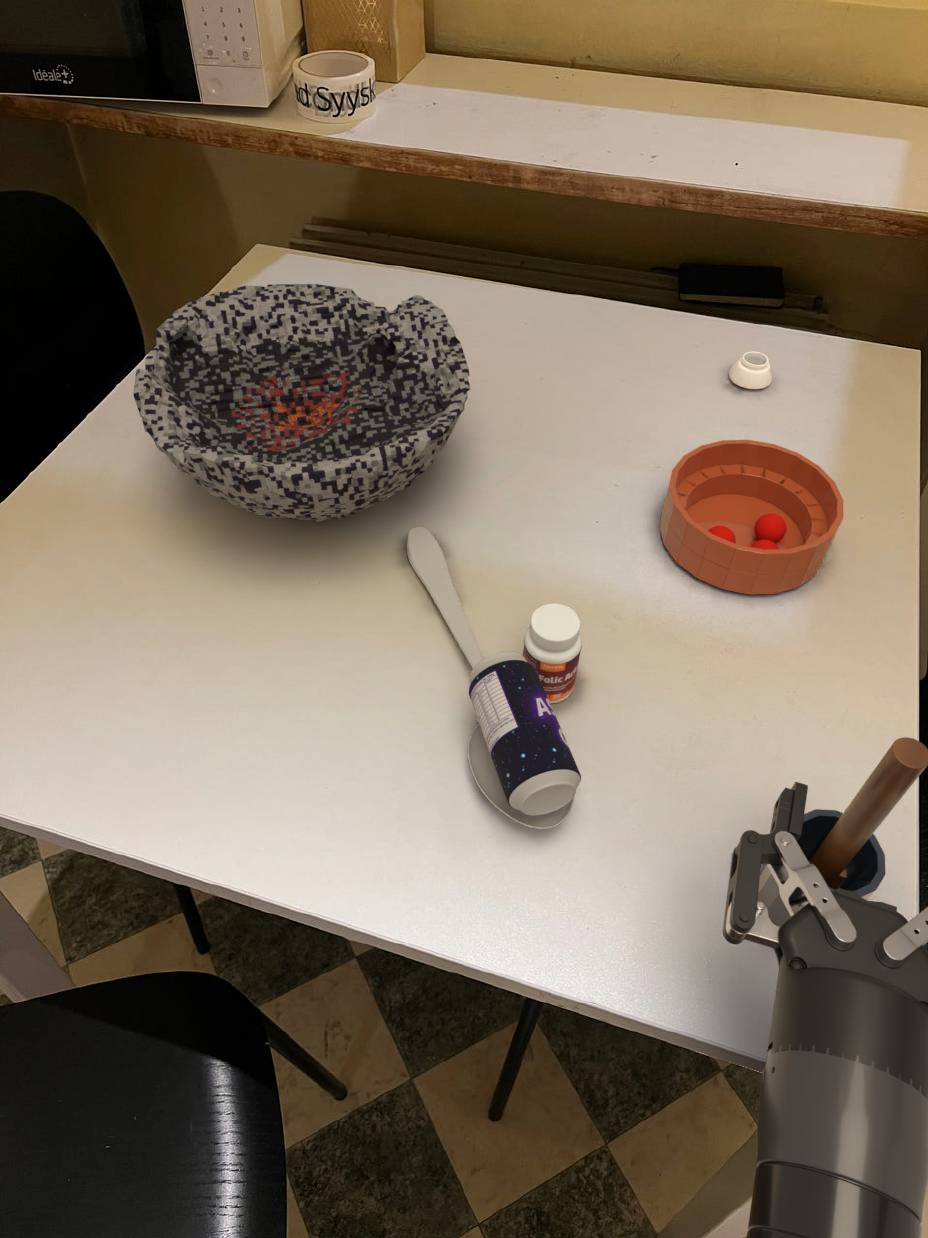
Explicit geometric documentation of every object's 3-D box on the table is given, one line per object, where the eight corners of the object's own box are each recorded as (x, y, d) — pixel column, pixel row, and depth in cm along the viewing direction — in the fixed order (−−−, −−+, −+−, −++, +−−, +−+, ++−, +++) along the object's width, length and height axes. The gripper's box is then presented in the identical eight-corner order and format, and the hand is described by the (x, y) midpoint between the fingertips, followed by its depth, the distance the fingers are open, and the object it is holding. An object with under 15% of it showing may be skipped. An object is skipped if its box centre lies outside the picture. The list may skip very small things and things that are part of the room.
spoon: (597, 827, 66) (601, 810, 64) (500, 858, 65) (502, 840, 63) (454, 537, 89) (453, 518, 87) (379, 554, 87) (377, 534, 85)
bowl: (173, 608, 81) (125, 486, 69) (175, 409, 101) (138, 289, 89) (497, 559, 85) (503, 436, 74) (438, 377, 105) (435, 258, 93)
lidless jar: (753, 397, 102) (778, 381, 104) (759, 375, 100) (785, 359, 102) (719, 378, 105) (745, 363, 107) (725, 356, 102) (751, 341, 105)
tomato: (738, 529, 82) (721, 556, 82) (744, 538, 84) (728, 565, 84) (710, 516, 83) (694, 543, 83) (717, 526, 86) (701, 552, 86)
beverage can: (573, 768, 59) (518, 638, 67) (499, 803, 60) (453, 670, 68) (594, 797, 64) (540, 672, 71) (525, 829, 64) (479, 701, 72)
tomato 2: (776, 558, 84) (784, 536, 82) (774, 579, 83) (783, 558, 80) (744, 552, 85) (752, 530, 83) (742, 573, 83) (750, 551, 81)
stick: (823, 889, 63) (939, 743, 48) (823, 916, 62) (941, 774, 46) (781, 879, 63) (882, 731, 48) (780, 904, 62) (883, 761, 47)
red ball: (787, 517, 86) (782, 546, 86) (756, 513, 87) (751, 542, 87) (790, 514, 83) (784, 545, 83) (757, 510, 84) (752, 540, 84)
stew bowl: (824, 500, 91) (843, 455, 86) (822, 613, 81) (843, 569, 76) (669, 472, 93) (680, 427, 89) (648, 578, 83) (659, 533, 79)
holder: (844, 871, 64) (884, 821, 58) (844, 954, 60) (887, 910, 54) (759, 849, 65) (789, 798, 59) (753, 930, 61) (785, 884, 55)
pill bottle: (536, 713, 73) (543, 652, 67) (511, 672, 76) (515, 610, 70) (584, 693, 75) (596, 632, 68) (558, 654, 77) (566, 592, 71)
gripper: (1041, 1137, 38) (1028, 821, 48) (716, 1015, 41) (766, 742, 51) (965, 1164, 44) (967, 877, 53) (686, 1055, 47) (735, 803, 57)
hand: (869, 811), depth 52 cm, fingers open, 8 cm apart
